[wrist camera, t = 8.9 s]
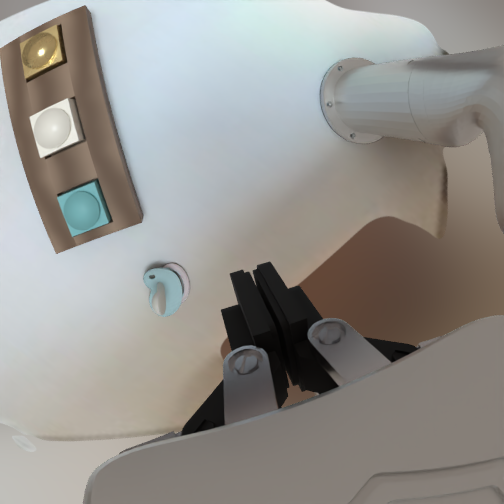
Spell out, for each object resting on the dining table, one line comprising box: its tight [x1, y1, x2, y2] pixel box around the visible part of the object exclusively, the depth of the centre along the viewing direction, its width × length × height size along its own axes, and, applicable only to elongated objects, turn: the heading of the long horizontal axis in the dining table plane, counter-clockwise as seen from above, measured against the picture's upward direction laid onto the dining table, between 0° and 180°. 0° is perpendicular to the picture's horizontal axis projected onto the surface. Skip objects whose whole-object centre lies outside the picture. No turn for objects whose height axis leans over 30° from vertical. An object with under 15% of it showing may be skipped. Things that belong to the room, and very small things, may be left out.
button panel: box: [0, 6, 143, 254], centre depth 29 cm, size 12×28×3 cm, turn 13°
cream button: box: [30, 98, 86, 158], centre depth 27 cm, size 5×5×4 cm
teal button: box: [57, 179, 112, 237], centre depth 32 cm, size 5×5×4 cm
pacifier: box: [143, 263, 190, 317], centre depth 39 cm, size 7×6×6 cm
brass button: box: [20, 25, 68, 80], centre depth 23 cm, size 5×5×4 cm
